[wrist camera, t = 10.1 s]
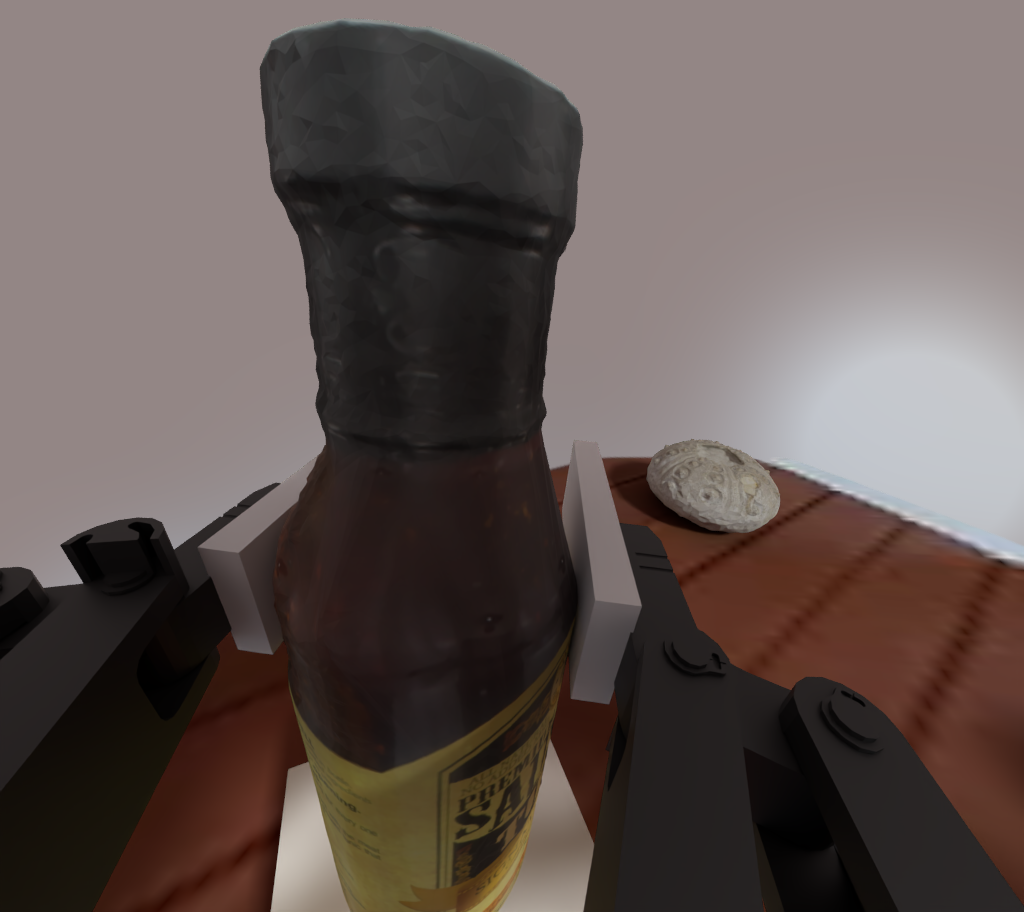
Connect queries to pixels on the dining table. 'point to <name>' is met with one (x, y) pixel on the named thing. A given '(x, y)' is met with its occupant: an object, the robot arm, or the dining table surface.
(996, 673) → the dining table surface
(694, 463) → the grey rounded lump
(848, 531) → the dining table surface
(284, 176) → the sauce bottle
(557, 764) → the shelf stand
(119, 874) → the dining table surface
